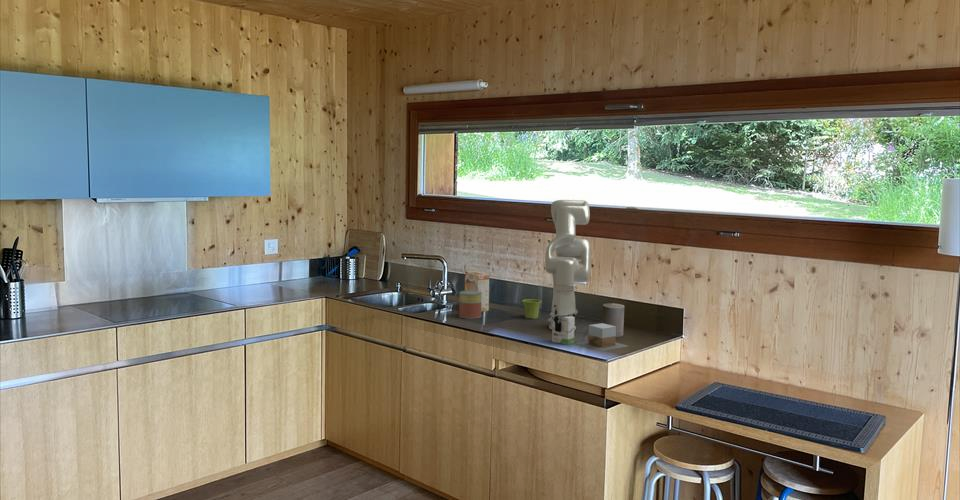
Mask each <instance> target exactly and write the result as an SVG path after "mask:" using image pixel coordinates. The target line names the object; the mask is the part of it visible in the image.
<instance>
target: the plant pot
mask: <svg viewBox="0 0 960 500" xmlns="http://www.w3.org/2000/svg"><path fill="white" fill-rule="evenodd" d="M522 302H523V307H524V318H526V319H528V320H529V319H532V320H534V319H538V318H539V313H540V305H541V303H542V300H541V299H532V298H528V299H527V298H526V299H522Z"/></svg>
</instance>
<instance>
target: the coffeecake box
mask: <svg viewBox="0 0 960 500" xmlns="http://www.w3.org/2000/svg"><path fill="white" fill-rule="evenodd" d="M464 291H479V292H482V298H481V313H482V312H488V311H489V310H490V309H489V308H490V306H489V305H490V304H489V303H490V274H489V273H487V272H484V271H483V272H482V271H479V270H476V269H475V270H465V271H464Z"/></svg>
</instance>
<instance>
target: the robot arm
mask: <svg viewBox="0 0 960 500" xmlns="http://www.w3.org/2000/svg"><path fill="white" fill-rule="evenodd" d="M550 211H551V212H550V214H551V218H552V221H553V224H554V228H555V237H554V238H553V239H551V241H550V242H549V243H548V244H547V247H546V250H545V258H544V259H545V260H544V267H545V271H546V272H547V273H548V274H551V275H552V283H553V284H552V285H553V286H552V287H553V288H552V289H553V290H552V291H553V292H552V302H551V312H550V313H549V317H550V318H548V319H547V321H548V322H550V324H549V325H548V329H549V330H552V327H553V320H554V322H555V331H557V332H561V323H560V321H561V317H562V316H565V315H566V316H571V317H575V318H576V315H577V314H578V313H579V311H578V309H577V308H576V296H575V291H574V290H575V287H576V286H575V283H587V282H589V281H590V278H591V251H592V250H591V244H590V242H589V240H588V239H585V238H576V231H577V230H576V225H577V226H578V225H579V226H583V225H585V226H586V225H588V224H589V222H590V218H591V217H590V216H591V215H590V214H591V212H590V211H591V210H590V204H589V202H588V201H587V200H583V199H582V200H578V199H558V200H554V201H552V203H551V207H550ZM554 251H555V254H556V255H555V256H553V255H552V254H553V253H554ZM578 260H579V261H578ZM576 330H577V326H576V325H574V331H576Z"/></svg>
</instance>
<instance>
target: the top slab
mask: <svg viewBox="0 0 960 500" xmlns="http://www.w3.org/2000/svg"><path fill="white" fill-rule="evenodd" d="M588 335H592V336H596V337H600V338H607V337H612V336H616V326H612V325H608V324H604V323H602V322H601V323H600V322H599V323H594V324H588Z"/></svg>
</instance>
